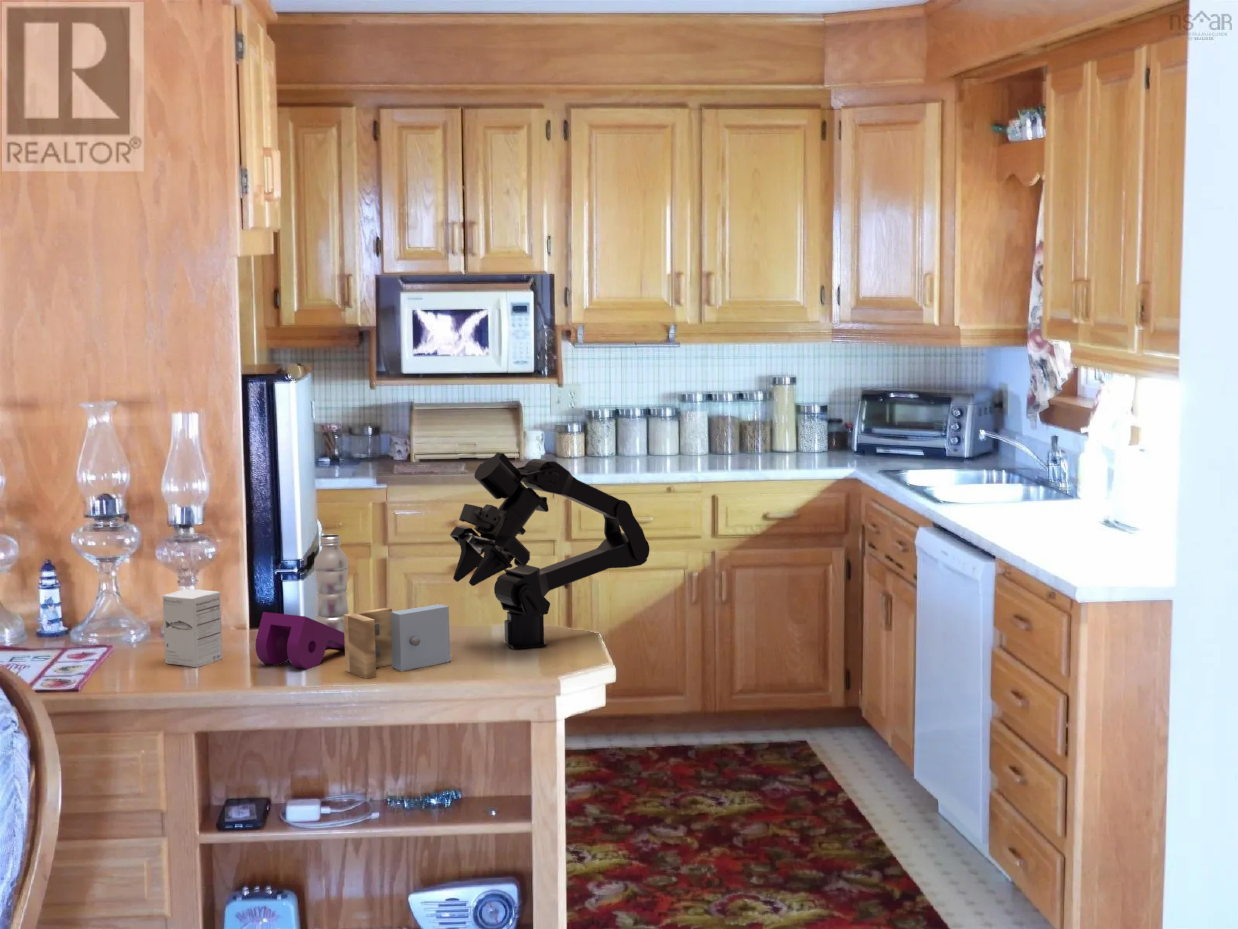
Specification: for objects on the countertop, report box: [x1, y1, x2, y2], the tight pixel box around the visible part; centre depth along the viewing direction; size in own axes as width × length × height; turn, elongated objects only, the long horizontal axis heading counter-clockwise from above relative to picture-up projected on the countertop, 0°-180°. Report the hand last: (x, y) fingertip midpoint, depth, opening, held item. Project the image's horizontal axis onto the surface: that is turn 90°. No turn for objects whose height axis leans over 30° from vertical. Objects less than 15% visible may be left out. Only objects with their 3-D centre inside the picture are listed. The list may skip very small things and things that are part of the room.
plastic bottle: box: [313, 534, 350, 633], centre depth 281 cm, size 6×7×20 cm
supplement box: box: [162, 588, 223, 668], centre depth 266 cm, size 7×7×13 cm
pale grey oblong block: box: [391, 603, 451, 672], centre depth 261 cm, size 10×5×10 cm, turn 129°
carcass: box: [344, 607, 393, 680], centre depth 257 cm, size 9×7×10 cm
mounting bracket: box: [255, 611, 345, 670], centre depth 267 cm, size 9×8×18 cm
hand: (462, 582), depth 266 cm, fingers open, 5 cm apart
